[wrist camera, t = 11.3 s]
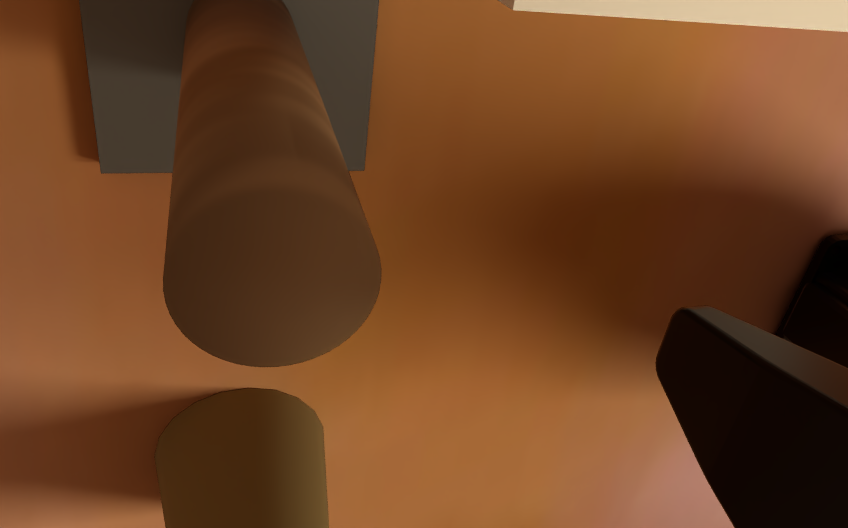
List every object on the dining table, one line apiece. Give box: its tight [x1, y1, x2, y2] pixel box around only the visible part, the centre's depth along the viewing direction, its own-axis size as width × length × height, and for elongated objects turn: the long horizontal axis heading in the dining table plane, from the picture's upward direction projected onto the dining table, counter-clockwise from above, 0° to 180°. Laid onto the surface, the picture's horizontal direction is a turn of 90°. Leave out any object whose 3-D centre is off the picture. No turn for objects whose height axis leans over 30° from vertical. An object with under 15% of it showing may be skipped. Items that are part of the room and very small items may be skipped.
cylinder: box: [163, 0, 381, 367], centre depth 13 cm, size 3×3×11 cm
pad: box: [79, 0, 379, 173], centre depth 18 cm, size 7×7×1 cm
